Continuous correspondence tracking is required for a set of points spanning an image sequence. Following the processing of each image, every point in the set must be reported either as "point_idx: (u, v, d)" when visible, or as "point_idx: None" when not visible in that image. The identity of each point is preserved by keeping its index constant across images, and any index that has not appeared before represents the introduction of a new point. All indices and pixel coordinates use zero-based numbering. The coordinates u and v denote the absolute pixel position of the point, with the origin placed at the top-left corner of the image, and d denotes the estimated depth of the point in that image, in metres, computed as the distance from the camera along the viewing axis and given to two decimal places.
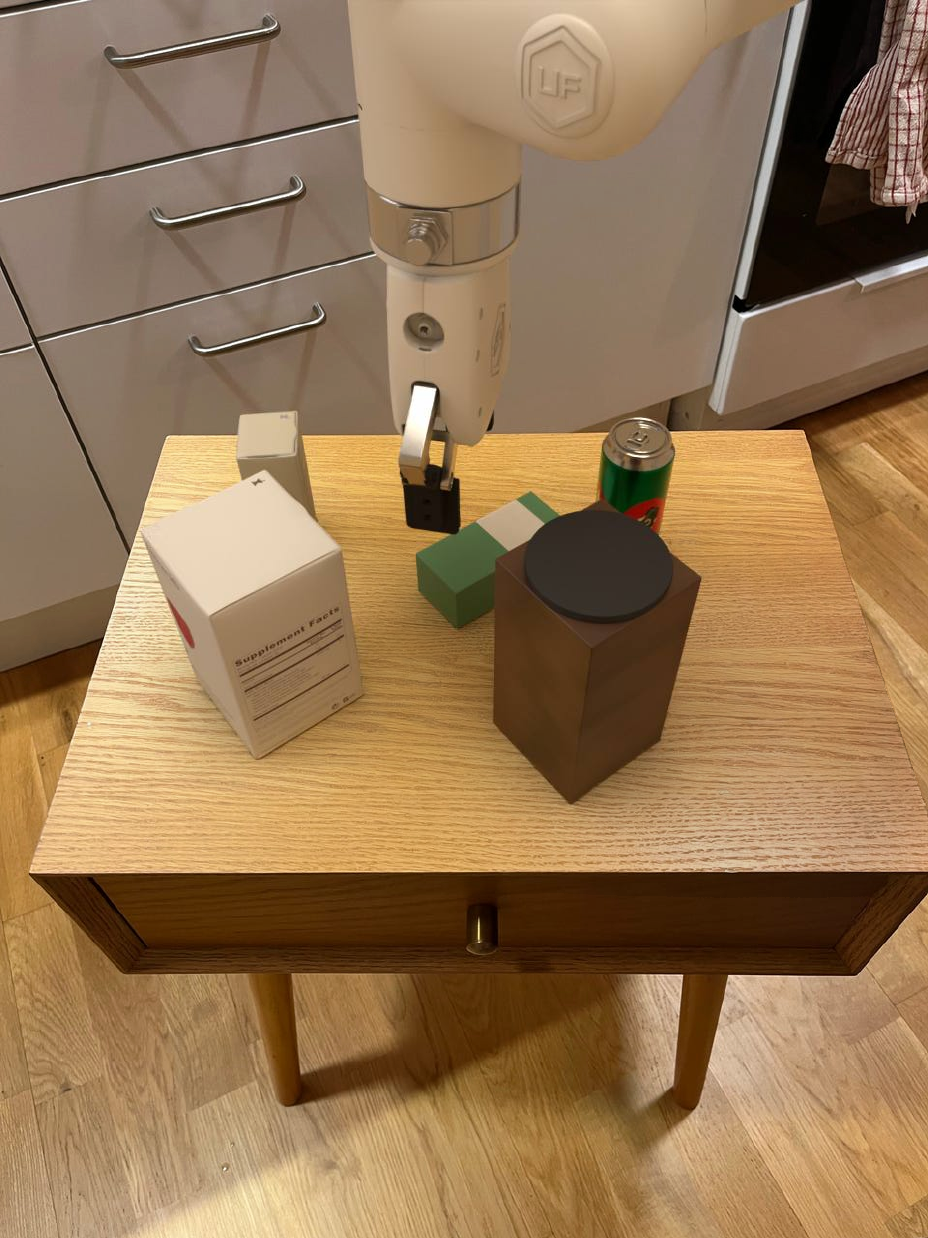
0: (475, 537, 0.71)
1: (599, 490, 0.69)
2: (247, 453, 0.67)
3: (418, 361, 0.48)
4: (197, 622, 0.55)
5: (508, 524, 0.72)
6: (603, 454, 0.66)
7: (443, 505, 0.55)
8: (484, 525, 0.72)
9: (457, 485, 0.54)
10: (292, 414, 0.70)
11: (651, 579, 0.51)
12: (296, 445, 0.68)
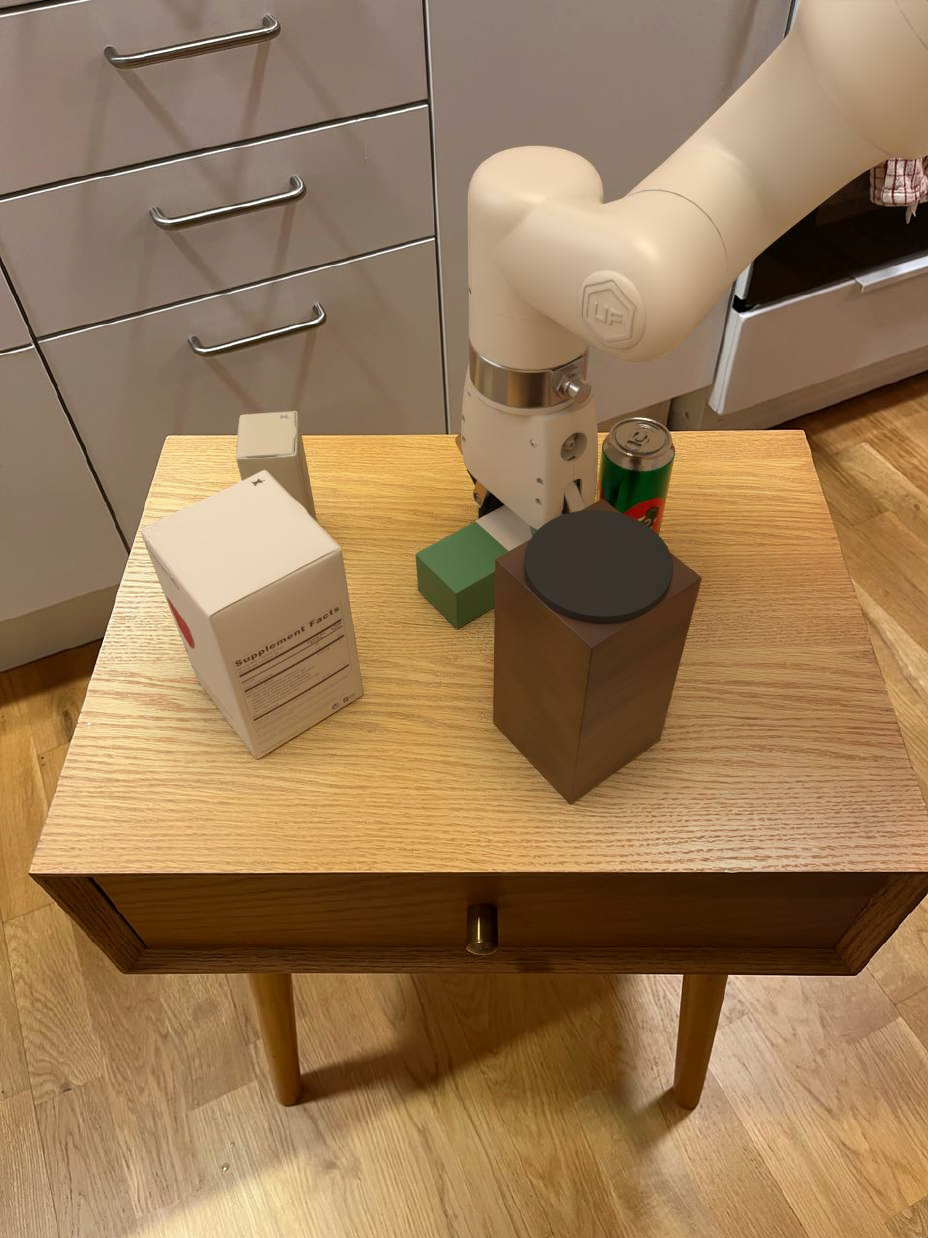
0: (475, 537, 0.71)
1: (599, 490, 0.69)
2: (247, 453, 0.67)
3: (570, 469, 0.62)
4: (197, 622, 0.55)
5: (508, 524, 0.72)
6: (603, 454, 0.66)
7: None
8: (484, 525, 0.72)
9: None
10: (292, 414, 0.70)
11: (651, 579, 0.51)
12: (296, 445, 0.68)
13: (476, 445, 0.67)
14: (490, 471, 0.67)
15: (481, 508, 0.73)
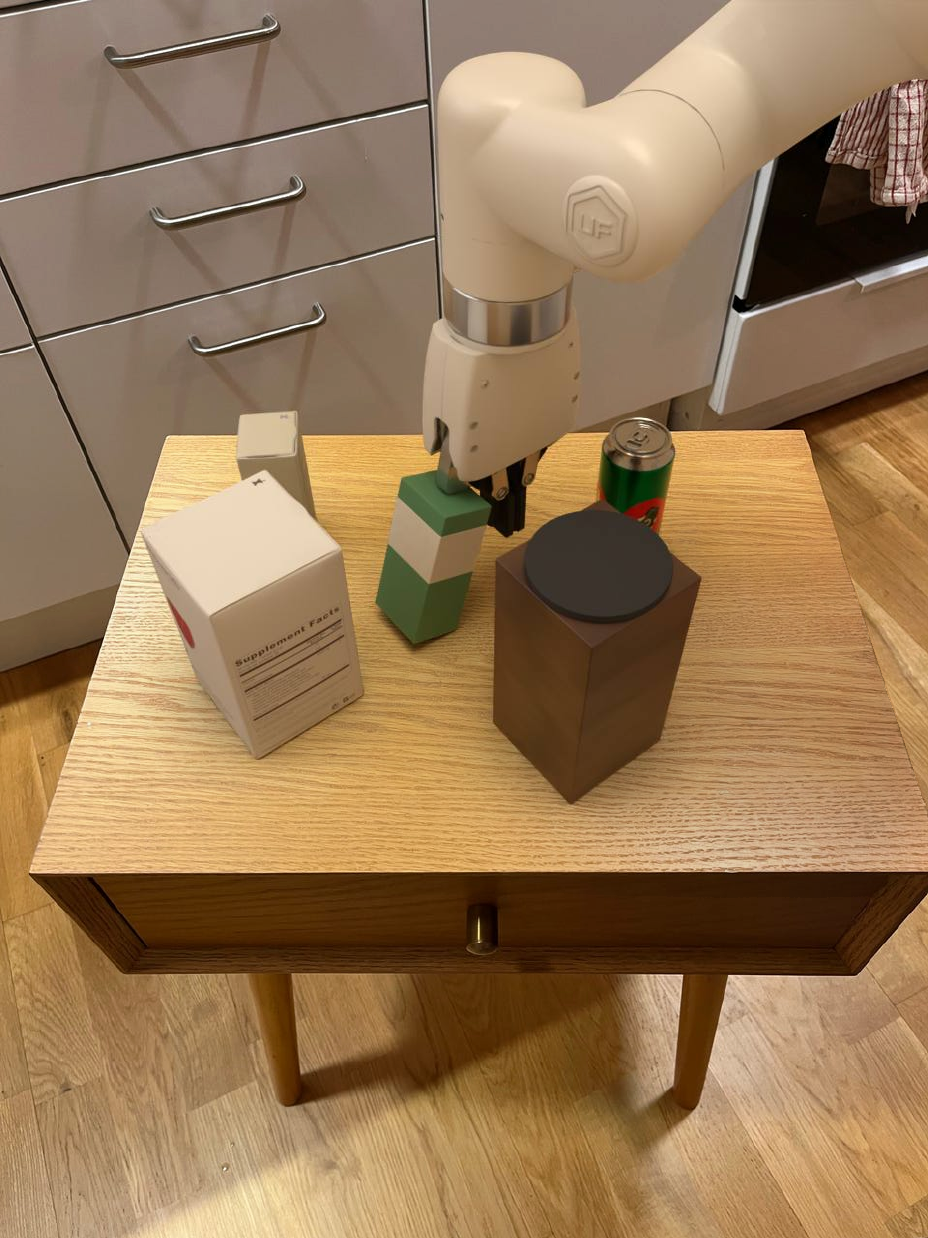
0: (396, 566, 0.67)
1: (599, 490, 0.69)
2: (247, 453, 0.67)
3: None
4: (197, 622, 0.55)
5: (406, 537, 0.65)
6: (603, 454, 0.66)
7: None
8: (394, 546, 0.67)
9: None
10: (292, 414, 0.70)
11: (651, 579, 0.51)
12: (296, 445, 0.68)
13: (497, 432, 0.60)
14: (517, 437, 0.61)
15: (509, 496, 0.66)
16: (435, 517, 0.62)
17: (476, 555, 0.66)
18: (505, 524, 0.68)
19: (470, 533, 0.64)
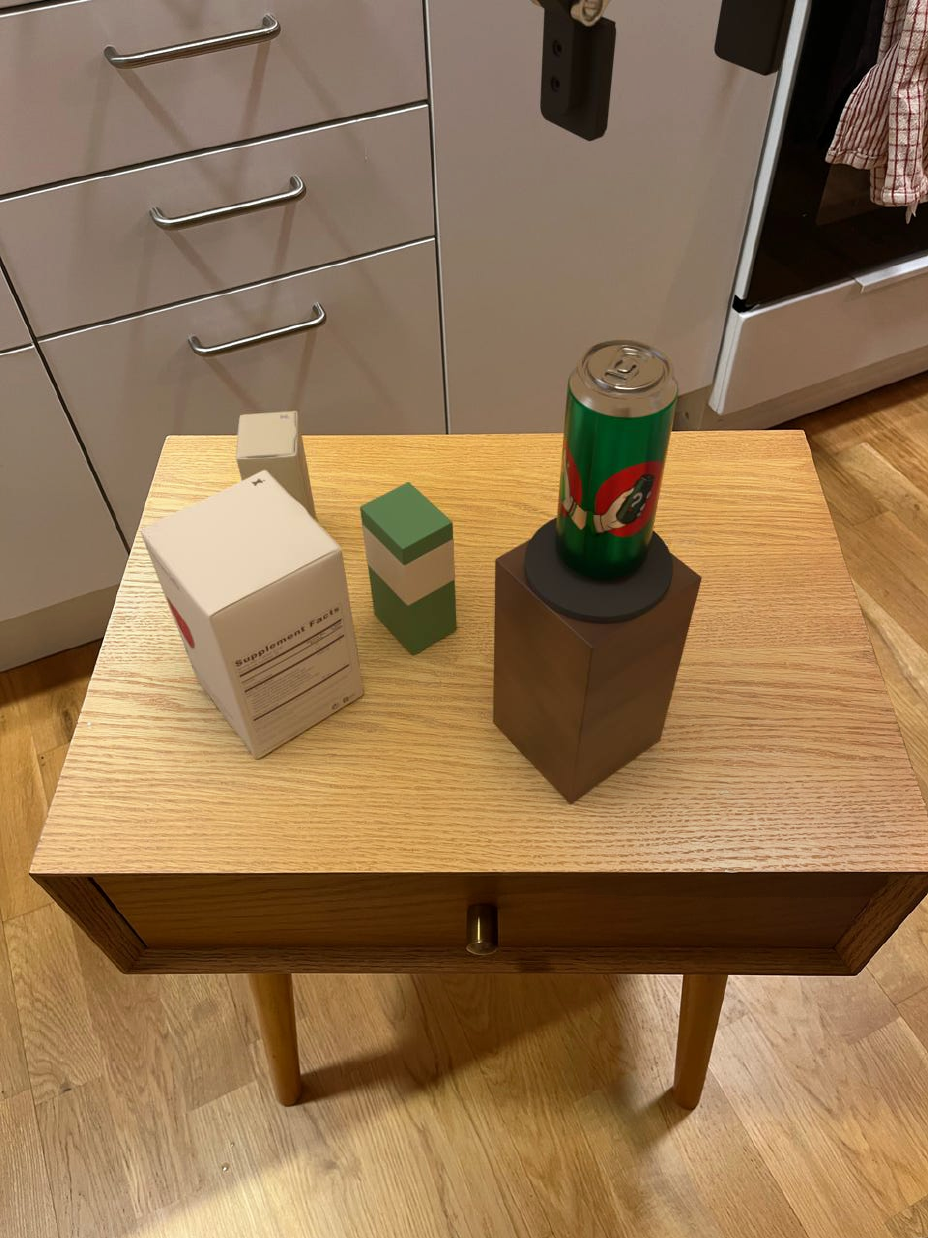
0: (379, 585, 0.67)
1: (565, 450, 0.46)
2: (247, 453, 0.67)
3: None
4: (197, 622, 0.55)
5: (379, 561, 0.65)
6: (569, 394, 0.44)
7: None
8: (373, 567, 0.67)
9: None
10: (292, 414, 0.70)
11: (651, 579, 0.51)
12: (296, 445, 0.68)
13: None
14: None
15: (605, 22, 0.33)
16: (395, 547, 0.62)
17: (452, 566, 0.65)
18: (592, 104, 0.35)
19: (437, 551, 0.63)
